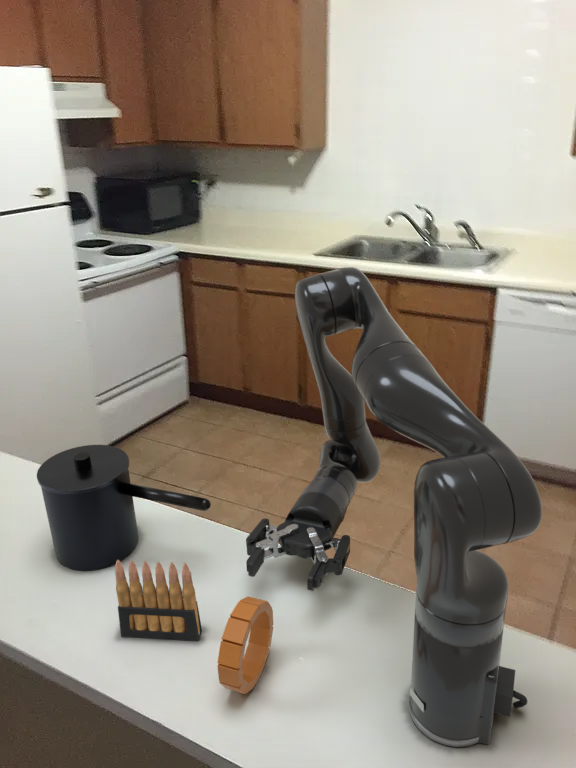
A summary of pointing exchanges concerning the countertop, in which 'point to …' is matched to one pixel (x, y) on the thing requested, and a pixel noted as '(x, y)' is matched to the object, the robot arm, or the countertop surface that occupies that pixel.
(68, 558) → the saucepan
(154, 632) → the ammunition clip
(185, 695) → the countertop surface
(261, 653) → the bracelet
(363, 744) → the countertop surface
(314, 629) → the countertop surface
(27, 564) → the countertop surface
